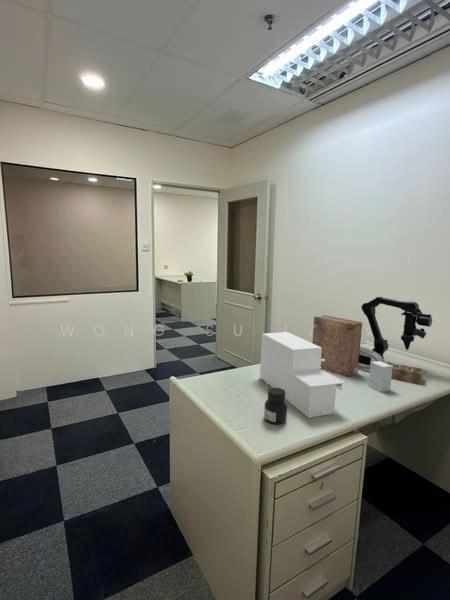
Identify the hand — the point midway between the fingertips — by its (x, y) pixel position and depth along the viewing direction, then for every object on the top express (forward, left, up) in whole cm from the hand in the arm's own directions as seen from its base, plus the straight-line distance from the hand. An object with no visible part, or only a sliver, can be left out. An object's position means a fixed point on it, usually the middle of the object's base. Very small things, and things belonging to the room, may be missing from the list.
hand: (407, 349), depth 187 cm
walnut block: (0, -14, -13) cm, 19 cm away
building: (-39, -70, -13) cm, 81 cm away
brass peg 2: (+5, -14, -13) cm, 19 cm away
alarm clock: (-22, -12, -13) cm, 28 cm away
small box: (-8, -38, -13) cm, 41 cm away
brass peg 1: (-5, -14, -13) cm, 20 cm away
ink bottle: (-37, -99, -13) cm, 106 cm away
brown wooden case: (-35, -24, -13) cm, 44 cm away
